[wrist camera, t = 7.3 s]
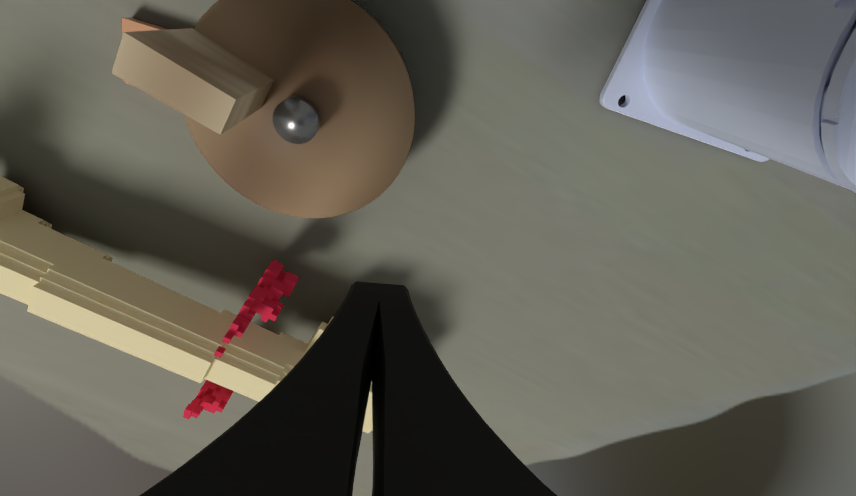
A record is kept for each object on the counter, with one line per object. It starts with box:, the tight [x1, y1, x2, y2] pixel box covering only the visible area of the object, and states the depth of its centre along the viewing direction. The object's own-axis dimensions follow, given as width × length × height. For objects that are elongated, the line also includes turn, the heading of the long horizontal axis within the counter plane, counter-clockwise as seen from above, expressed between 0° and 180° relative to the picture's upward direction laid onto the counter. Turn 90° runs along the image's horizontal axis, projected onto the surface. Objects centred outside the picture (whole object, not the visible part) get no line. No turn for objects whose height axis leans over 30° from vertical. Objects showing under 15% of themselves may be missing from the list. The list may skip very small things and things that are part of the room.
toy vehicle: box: [0, 176, 373, 434], centre depth 19 cm, size 10×9×25 cm
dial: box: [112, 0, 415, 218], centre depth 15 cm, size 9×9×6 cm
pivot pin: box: [273, 95, 321, 144], centre depth 15 cm, size 2×2×1 cm
